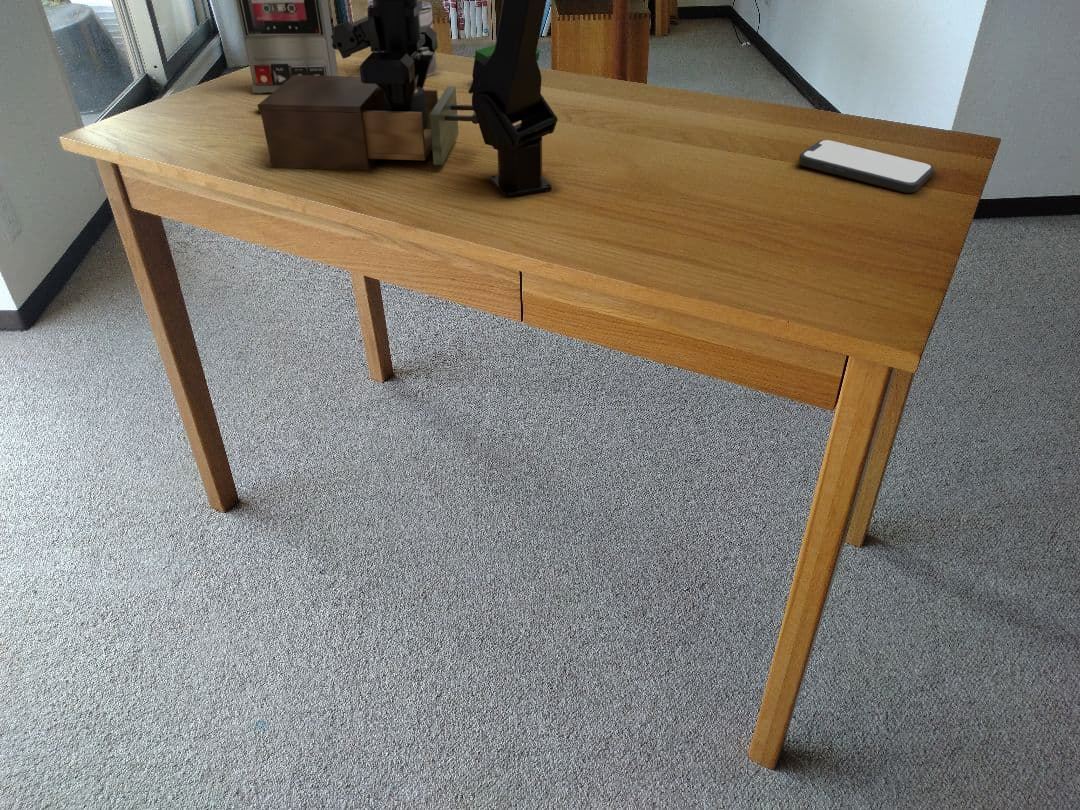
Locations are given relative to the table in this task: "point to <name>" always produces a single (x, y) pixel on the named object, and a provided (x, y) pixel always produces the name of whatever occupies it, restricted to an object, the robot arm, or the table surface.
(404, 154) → the drawer
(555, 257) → the table surface
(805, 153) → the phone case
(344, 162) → the cabinet
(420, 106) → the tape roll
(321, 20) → the cassette tape recorder
